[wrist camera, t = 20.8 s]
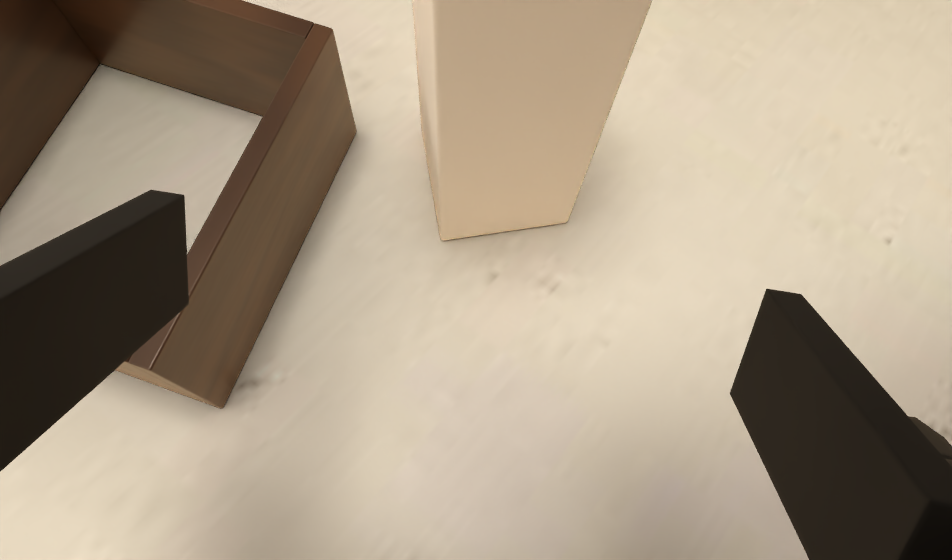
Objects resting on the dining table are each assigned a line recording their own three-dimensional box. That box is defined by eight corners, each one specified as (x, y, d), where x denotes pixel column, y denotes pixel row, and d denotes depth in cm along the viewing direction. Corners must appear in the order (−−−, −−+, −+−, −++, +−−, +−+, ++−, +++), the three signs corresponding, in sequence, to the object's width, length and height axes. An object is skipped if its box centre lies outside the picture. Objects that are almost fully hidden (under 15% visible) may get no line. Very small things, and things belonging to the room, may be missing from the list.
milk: (541, 115, 32) (705, -605, 12) (568, 225, 30) (825, -417, 10) (418, 131, 32) (369, -601, 11) (437, 244, 30) (420, -401, 9)
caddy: (357, 131, 32) (333, 28, 25) (223, 409, 27) (150, 370, 20) (94, 46, 33) (5, -74, 26) (-81, 298, 28) (-243, 228, 21)
